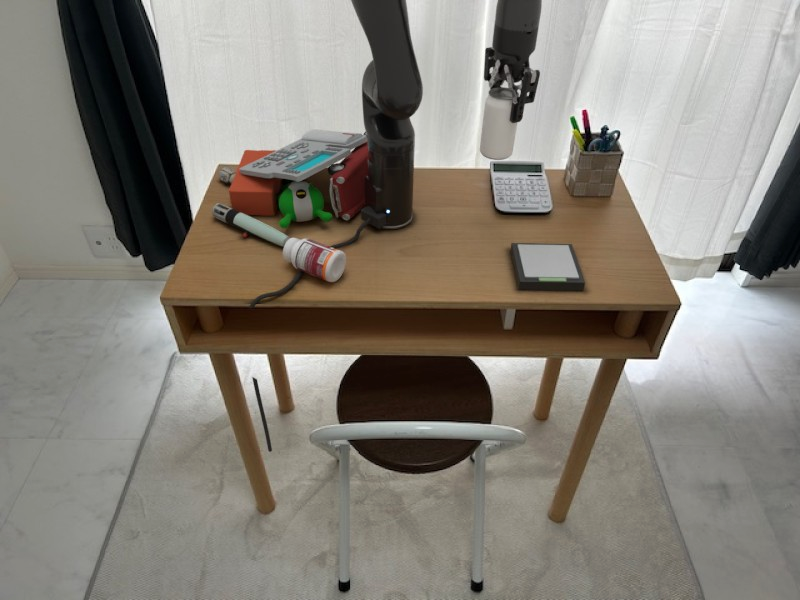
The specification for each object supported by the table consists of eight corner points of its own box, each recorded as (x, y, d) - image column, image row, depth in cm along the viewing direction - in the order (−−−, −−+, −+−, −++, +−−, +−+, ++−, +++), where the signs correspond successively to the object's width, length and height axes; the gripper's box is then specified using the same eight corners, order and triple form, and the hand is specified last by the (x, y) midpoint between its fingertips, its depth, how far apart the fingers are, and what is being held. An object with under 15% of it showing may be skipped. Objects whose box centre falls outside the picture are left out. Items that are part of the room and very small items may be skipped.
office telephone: (317, 123, 144) (376, 128, 130) (320, 134, 145) (378, 140, 132) (236, 163, 131) (291, 172, 118) (240, 174, 133) (295, 185, 119)
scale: (518, 289, 115) (520, 279, 113) (510, 250, 124) (511, 241, 122) (582, 290, 115) (585, 280, 113) (569, 251, 124) (572, 242, 122)
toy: (319, 170, 136) (328, 183, 122) (324, 207, 139) (333, 224, 125) (269, 177, 134) (273, 190, 120) (275, 214, 137) (280, 231, 123)
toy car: (319, 173, 124) (363, 179, 121) (371, 123, 142) (412, 127, 138) (327, 220, 131) (369, 227, 127) (376, 166, 149) (415, 171, 145)
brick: (228, 190, 127) (232, 215, 131) (272, 191, 127) (275, 216, 131) (244, 149, 141) (248, 172, 145) (284, 150, 141) (286, 173, 145)
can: (511, 162, 118) (520, 101, 111) (477, 158, 119) (484, 98, 111) (513, 147, 123) (522, 88, 115) (480, 143, 124) (487, 84, 116)
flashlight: (284, 258, 123) (211, 223, 130) (296, 240, 124) (223, 207, 132) (278, 250, 120) (204, 215, 128) (290, 232, 121) (216, 198, 129)
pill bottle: (346, 275, 118) (300, 256, 122) (348, 246, 114) (300, 228, 119) (327, 288, 113) (279, 269, 117) (329, 259, 110) (280, 240, 114)
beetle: (249, 170, 140) (250, 181, 142) (222, 162, 141) (224, 174, 144) (240, 179, 137) (242, 191, 140) (213, 172, 139) (215, 183, 141)
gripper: (476, 12, 109) (467, 102, 120) (523, 37, 99) (509, 134, 110) (511, 6, 111) (500, 96, 122) (560, 31, 102) (543, 126, 113)
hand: (504, 113), depth 116 cm, fingers closed on can, 6 cm apart
